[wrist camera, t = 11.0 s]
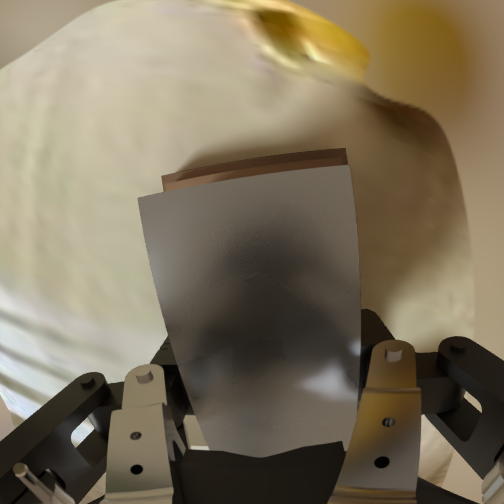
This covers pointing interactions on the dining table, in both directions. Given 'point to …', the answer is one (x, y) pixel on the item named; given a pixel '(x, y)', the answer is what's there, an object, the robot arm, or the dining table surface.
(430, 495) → the robot arm
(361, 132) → the dining table surface
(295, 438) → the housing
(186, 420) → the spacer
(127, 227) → the dining table surface
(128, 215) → the dining table surface
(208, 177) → the stand
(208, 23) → the dining table surface
